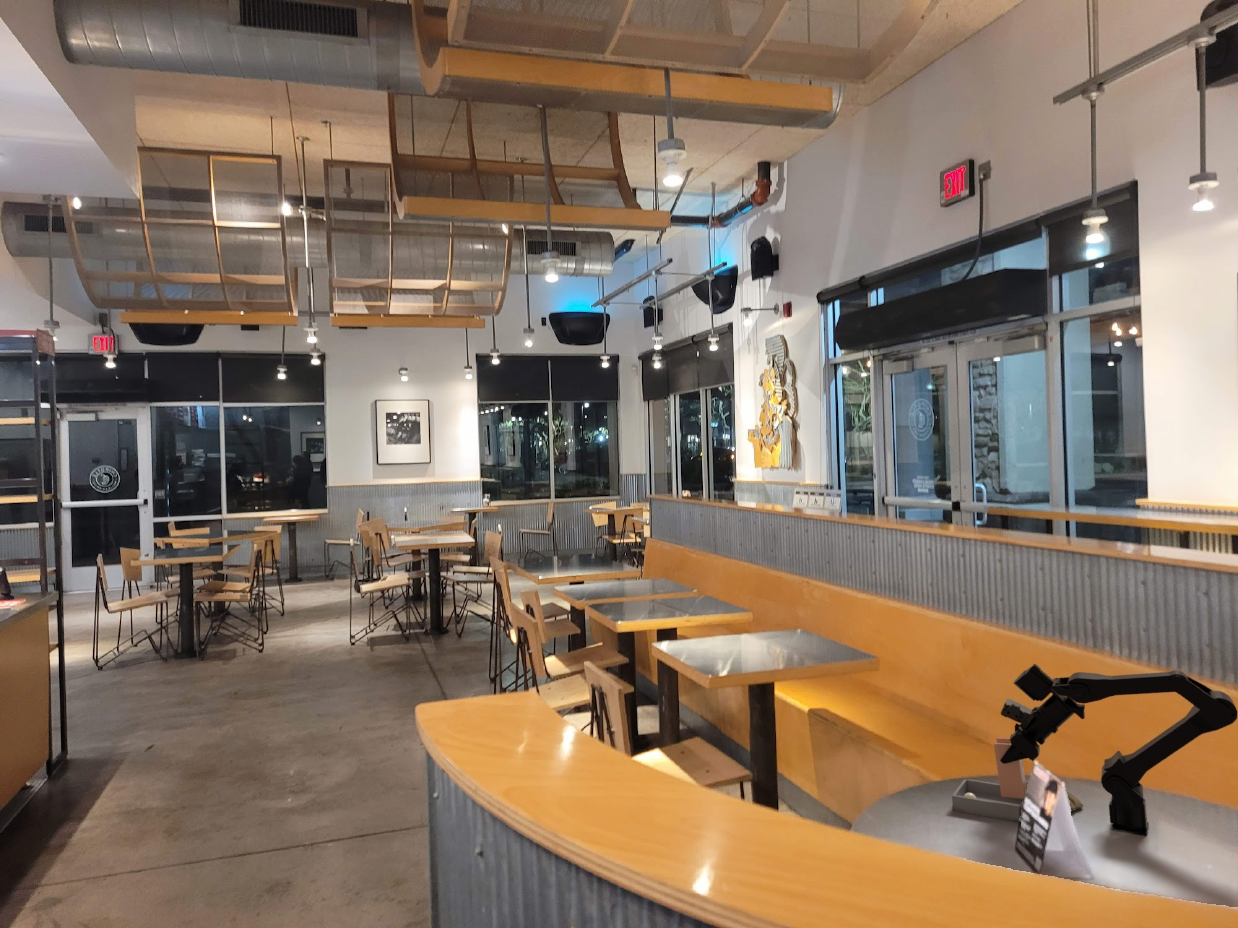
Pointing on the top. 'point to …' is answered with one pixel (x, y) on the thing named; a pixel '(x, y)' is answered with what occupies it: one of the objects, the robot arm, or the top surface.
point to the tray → (986, 801)
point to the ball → (970, 795)
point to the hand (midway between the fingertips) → (1003, 758)
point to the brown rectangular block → (1009, 772)
